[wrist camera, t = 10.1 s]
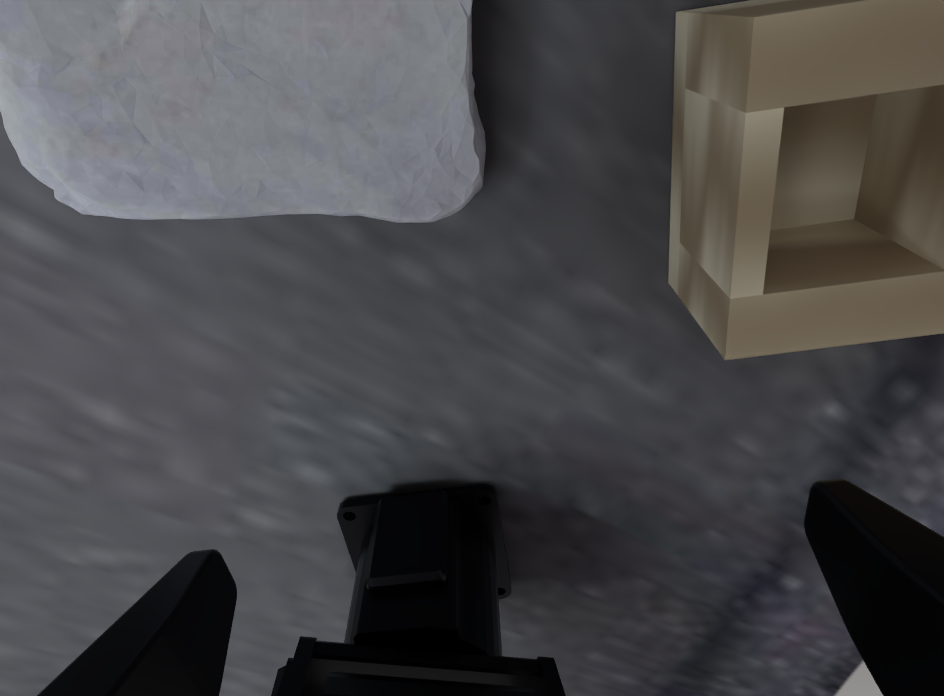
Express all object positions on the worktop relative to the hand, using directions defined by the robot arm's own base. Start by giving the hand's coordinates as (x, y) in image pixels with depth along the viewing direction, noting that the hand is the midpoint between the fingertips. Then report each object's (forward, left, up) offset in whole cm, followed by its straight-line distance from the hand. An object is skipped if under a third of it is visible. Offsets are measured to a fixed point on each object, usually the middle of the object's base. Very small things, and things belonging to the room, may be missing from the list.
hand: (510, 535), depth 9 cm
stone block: (+8, +5, -12) cm, 15 cm away
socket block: (+2, -12, -12) cm, 17 cm away
